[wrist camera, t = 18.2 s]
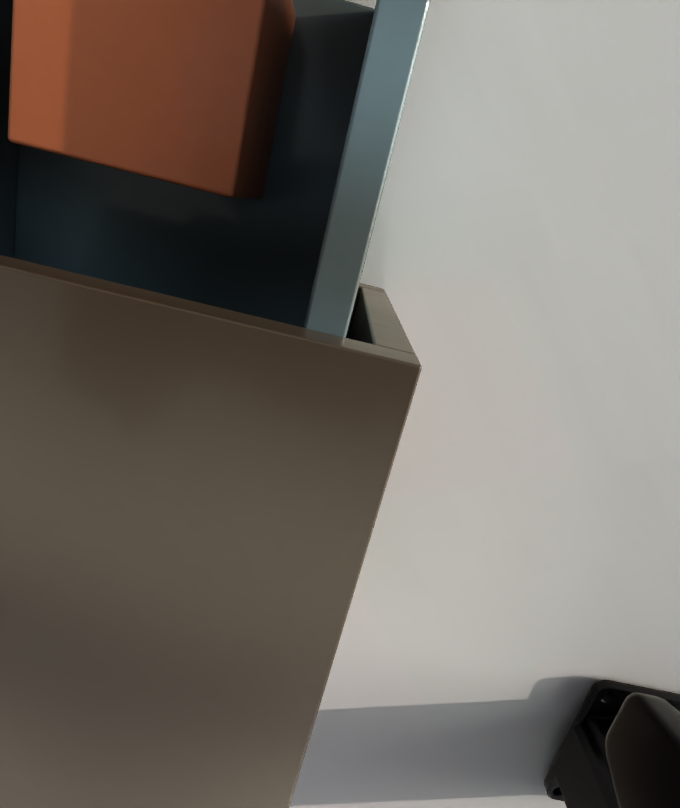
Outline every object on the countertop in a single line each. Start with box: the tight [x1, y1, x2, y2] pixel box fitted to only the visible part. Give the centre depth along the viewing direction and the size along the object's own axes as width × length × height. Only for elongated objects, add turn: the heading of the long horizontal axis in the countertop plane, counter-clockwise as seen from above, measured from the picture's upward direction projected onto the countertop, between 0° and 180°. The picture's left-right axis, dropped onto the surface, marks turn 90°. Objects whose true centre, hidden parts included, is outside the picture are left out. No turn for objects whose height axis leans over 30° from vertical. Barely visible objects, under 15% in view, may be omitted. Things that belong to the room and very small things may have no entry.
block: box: [8, 0, 296, 199], centre depth 12 cm, size 4×4×4 cm
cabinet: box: [0, 255, 422, 808], centre depth 16 cm, size 15×13×9 cm
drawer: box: [0, 0, 430, 338], centre depth 12 cm, size 18×11×7 cm, turn 166°
